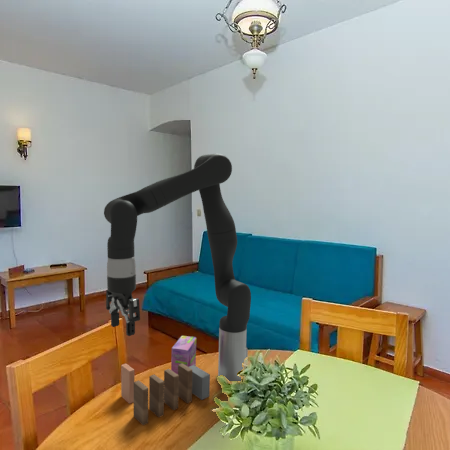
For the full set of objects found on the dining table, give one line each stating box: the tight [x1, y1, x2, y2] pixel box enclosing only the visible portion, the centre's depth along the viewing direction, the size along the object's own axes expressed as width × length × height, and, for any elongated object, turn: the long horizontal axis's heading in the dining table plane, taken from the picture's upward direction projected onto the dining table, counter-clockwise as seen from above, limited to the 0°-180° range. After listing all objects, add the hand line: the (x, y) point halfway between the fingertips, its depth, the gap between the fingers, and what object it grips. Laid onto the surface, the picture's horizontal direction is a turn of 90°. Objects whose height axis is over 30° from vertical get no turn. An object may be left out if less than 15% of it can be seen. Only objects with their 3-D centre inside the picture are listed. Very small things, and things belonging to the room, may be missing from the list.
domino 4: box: [178, 363, 193, 404], centre depth 108 cm, size 2×5×10 cm, turn 44°
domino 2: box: [148, 374, 165, 418], centre depth 101 cm, size 2×5×10 cm, turn 44°
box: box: [170, 335, 197, 374], centre depth 121 cm, size 10×6×12 cm, turn 168°
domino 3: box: [163, 368, 179, 411], centre depth 104 cm, size 2×5×10 cm, turn 44°
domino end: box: [120, 363, 135, 404], centre depth 107 cm, size 2×5×10 cm, turn 44°
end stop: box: [189, 365, 211, 401], centre depth 111 cm, size 3×8×7 cm, turn 44°
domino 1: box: [133, 380, 149, 426], centre depth 97 cm, size 2×5×10 cm, turn 44°
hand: (122, 330), depth 99 cm, fingers open, 8 cm apart
